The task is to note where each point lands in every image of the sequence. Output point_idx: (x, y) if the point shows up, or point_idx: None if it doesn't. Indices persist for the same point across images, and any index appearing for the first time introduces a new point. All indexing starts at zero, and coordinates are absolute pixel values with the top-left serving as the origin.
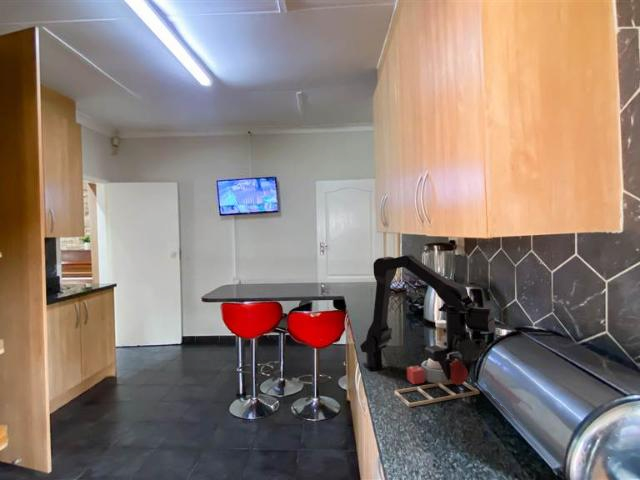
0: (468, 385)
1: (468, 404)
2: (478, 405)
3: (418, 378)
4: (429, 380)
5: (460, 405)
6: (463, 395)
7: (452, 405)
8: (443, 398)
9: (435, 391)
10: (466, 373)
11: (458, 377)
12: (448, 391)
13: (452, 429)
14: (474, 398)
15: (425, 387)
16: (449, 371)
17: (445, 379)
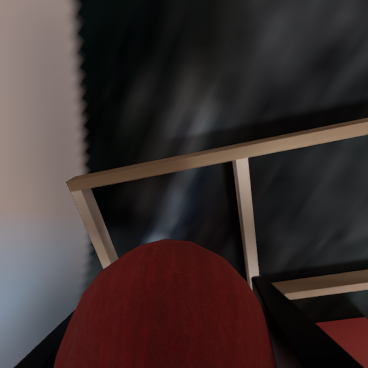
0: (108, 255)
1: (205, 38)
2: (142, 9)
3: (355, 348)
4: None
5: (268, 32)
6: (186, 154)
7: (322, 42)
8: (345, 125)
9: (307, 238)
10: (88, 306)
11: (203, 264)
12: (250, 216)
13: None
14: (128, 122)
15: (342, 277)
16: (314, 362)
17: None
